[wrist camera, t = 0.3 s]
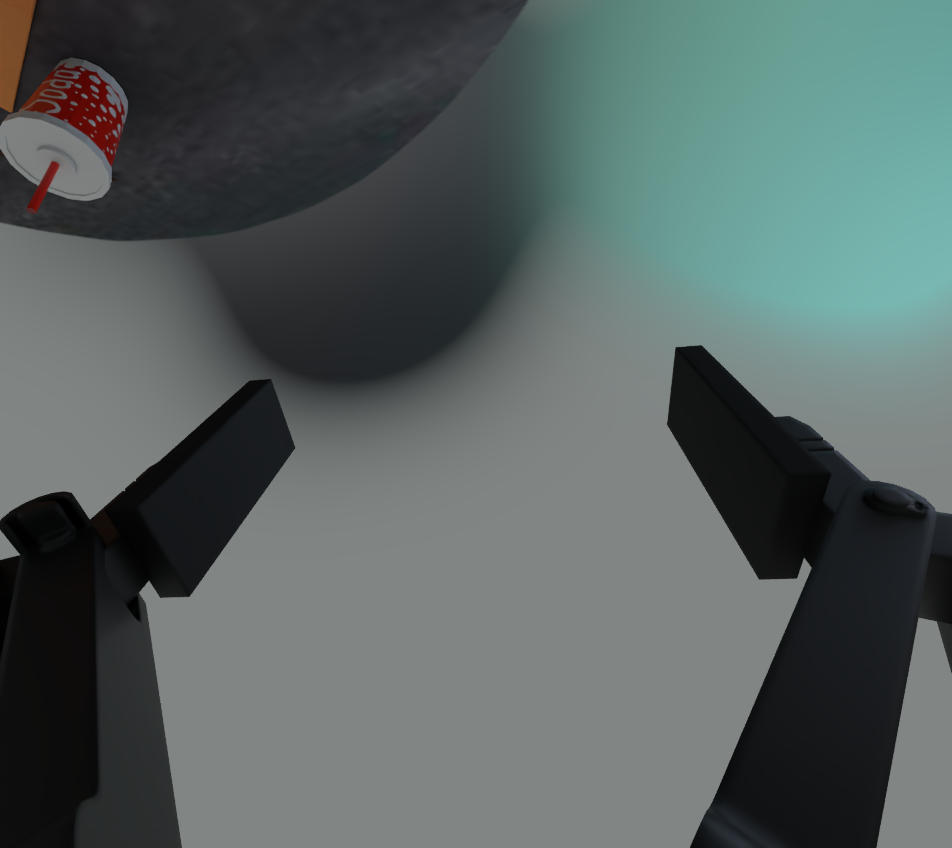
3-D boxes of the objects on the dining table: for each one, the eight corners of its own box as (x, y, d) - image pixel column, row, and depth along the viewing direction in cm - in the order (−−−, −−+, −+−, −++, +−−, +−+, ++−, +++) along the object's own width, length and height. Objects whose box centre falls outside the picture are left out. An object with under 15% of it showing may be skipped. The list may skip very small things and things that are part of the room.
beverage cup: (131, 65, 36) (75, 184, 29) (145, 140, 41) (100, 256, 34) (28, 30, 33) (-57, 152, 27) (57, 115, 38) (-10, 234, 32)
